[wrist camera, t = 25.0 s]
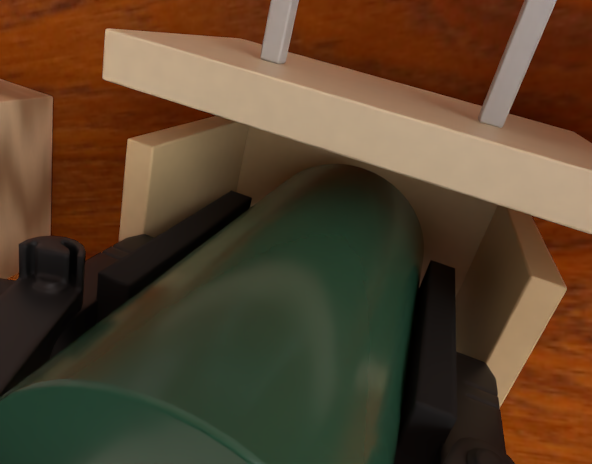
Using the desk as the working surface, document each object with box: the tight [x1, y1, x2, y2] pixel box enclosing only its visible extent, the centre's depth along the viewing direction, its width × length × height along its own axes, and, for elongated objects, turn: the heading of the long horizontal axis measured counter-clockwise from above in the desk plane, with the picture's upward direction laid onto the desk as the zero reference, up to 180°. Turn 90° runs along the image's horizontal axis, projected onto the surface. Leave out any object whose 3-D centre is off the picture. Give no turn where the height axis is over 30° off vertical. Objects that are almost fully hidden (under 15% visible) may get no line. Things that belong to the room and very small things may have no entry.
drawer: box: [102, 0, 592, 408], centre depth 15 cm, size 21×12×8 cm, turn 166°
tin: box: [0, 164, 424, 464], centre depth 12 cm, size 6×6×12 cm
